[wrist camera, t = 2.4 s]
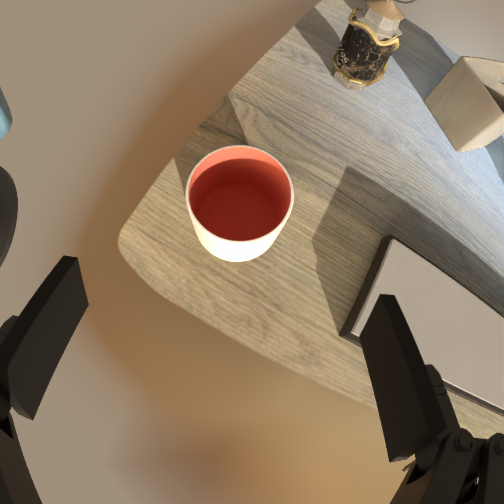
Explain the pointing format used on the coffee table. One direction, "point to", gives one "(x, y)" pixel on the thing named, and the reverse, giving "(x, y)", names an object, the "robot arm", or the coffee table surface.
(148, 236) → the coffee table surface
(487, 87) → the planter
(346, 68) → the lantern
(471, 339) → the scale
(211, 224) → the cup
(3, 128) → the robot arm
